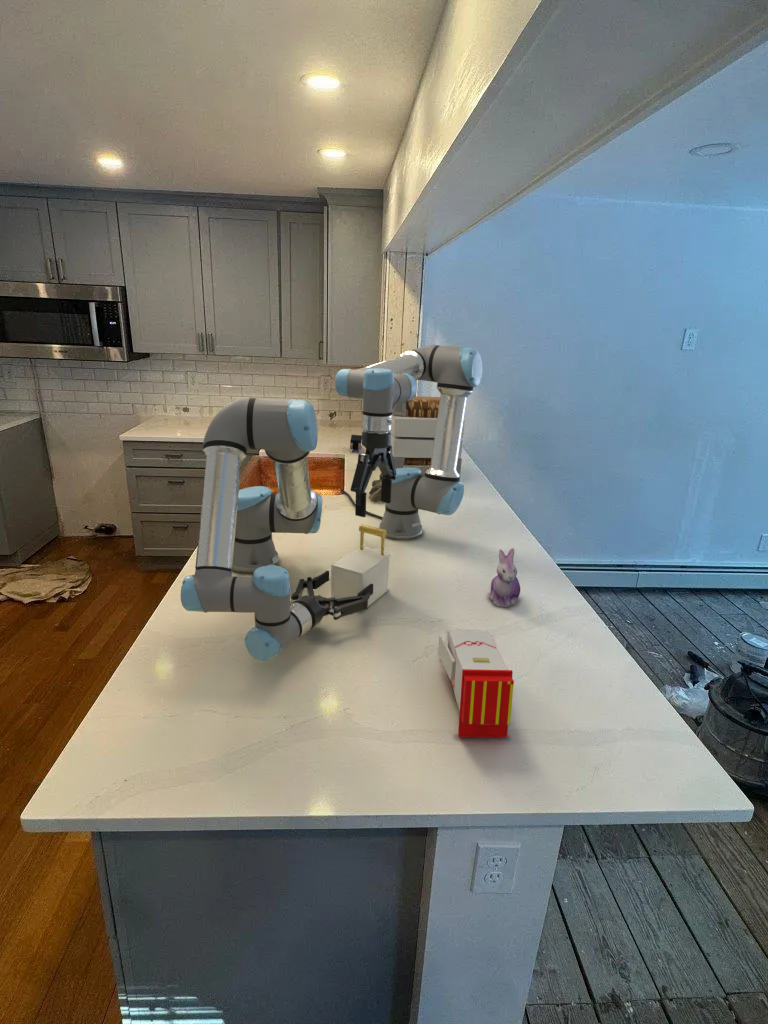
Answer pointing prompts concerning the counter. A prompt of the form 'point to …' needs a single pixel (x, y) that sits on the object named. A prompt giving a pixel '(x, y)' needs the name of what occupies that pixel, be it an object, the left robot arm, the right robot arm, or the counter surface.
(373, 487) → the fossil
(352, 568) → the lid
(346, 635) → the counter surface
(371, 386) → the right robot arm
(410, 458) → the white wooden crate
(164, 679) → the counter surface
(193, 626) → the counter surface
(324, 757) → the counter surface
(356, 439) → the figurine character
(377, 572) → the chest
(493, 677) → the toy
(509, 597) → the figurine
